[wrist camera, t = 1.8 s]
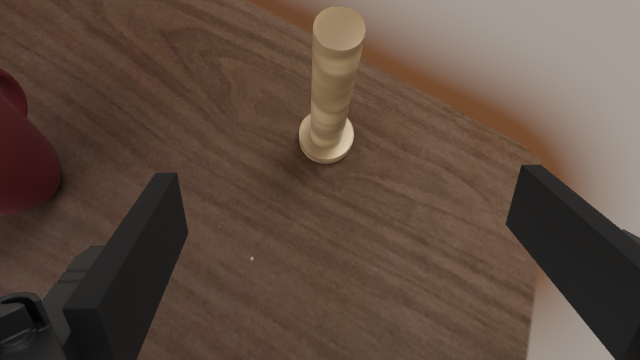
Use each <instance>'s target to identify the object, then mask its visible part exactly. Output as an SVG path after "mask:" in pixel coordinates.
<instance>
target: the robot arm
mask: <svg viewBox="0 0 640 360" xmlns="http://www.w3.org/2000/svg"><path fill="white" fill-rule="evenodd" d="M506 225H507V227H508V228H509V229H510V230H511V232H512V233H513V234H514V235H515V236H516V238H517V239H518V240H519V241H520V243H521V244H522V245H523V246H524V248H525V249H526V250H527V251H528V253H529V254H530V255H531V256H532V257H533V259H534V260H535V261H536V262H537V264H538V265H539V266H540V267H541V269H542V270H543V271H544V272H545V273H546V275H547V276H548V277H549V278H550V280H551V281H552V282H553V283H554V284H555V286H556V287H557V288H558V289H559V291H560V292H561V293H562V294H563V295H564V297H565V298H566V299H567V301H568V302H569V303H570V304H571V305H572V307H573V308H574V309H575V310H576V311H577V313H578V314H579V315H580V317H581V318H582V319H583V320H584V321H585V323H586V324H587V325H588V326H589V328H590V329H591V330H592V331H593V333H594V334H595V335H596V336H597V338H599V340H600V341H601V342H602V344H603V345H604V346H605V347H606V349H607V350H608V351H609V352H610V354H611V355H612V356H613V357H614V358H615V360H640V238H639V237H637V236H635V235H633V234H631V233H630V232H628V231H626V230H621V229H620V228H618V227H617V226H616V225H615V224H613V223H612V222H611V221H610V220H609V219H607V218H606V217H605V216H604V215H602V214H601V213H599V211H597V210H596V209H595V208H594V207H592V206H591V205H590V204H589V203H587V202H586V201H585V200H584V199H583V198H581V197H580V196H579V195H578V194H576V193H575V192H574V191H572V190H571V189H570V188H569V187H568V186H566V185H565V184H564V183H563V182H562V181H560V180H559V179H558V178H557V177H555V176H554V175H553V174H552V173H550V172H549V171H548V170H547V169H545V168H544V167H543V166H542V165H521V169H520V173H519V176H518V180H517V184H516V187H515V191H514V195H513V199H512V202H511V206H510V210H509V213H508V217H507V221H506ZM187 235H188V229H187V224H186V219H185V213H184V208H183V203H182V198H181V192H180V187H179V182H178V177H177V173H155V175H154V176H153V178H152V179H151V181H150V182H149V183H148V185H147V186H146V188H145V189H144V191H143V192H142V194H141V195H140V196H139V198H138V199H137V201H136V202H135V204H134V205H133V207H132V208H131V209H130V211H129V212H128V214H127V215H126V217H125V218H124V220H123V221H122V222H121V224H120V225H119V227H118V228H117V230H116V231H115V233H114V234H113V235H112V237H111V238H110V240H109V241H108V243H107V244H106V246H91V247H89V248H88V249H86V250H85V251H84V252H82V253H81V254H80V255H78V256H77V257H75V259H74V260H73V261H72V263H71V264H70V265H69V267H68V268H67V269H66V272H64V273H63V274H62V276H61V277H60V278H59V280H58V283H56V284H55V285H54V286H53V287H52V289H51V290H50V291H49V293H48V294H47V295H46V297H45V298H44V299H43V300H42V302H41V299H40V298H39V297H38V296H37V295H36V294H33V293H28V292H21V293H13V294H10V295H7V296H3V297H0V360H136V359H137V356H138V354H139V352H140V349H141V347H142V344H143V342H144V339H145V337H146V335H147V332H148V330H149V327H150V325H151V322H152V320H153V318H154V315H155V313H156V310H157V308H158V306H159V303H160V301H161V298H162V296H163V293H164V291H165V289H166V286H167V284H168V281H169V279H170V276H171V274H172V272H173V269H174V267H175V264H176V262H177V259H178V257H179V255H180V252H181V250H182V247H183V245H184V243H185V240H186V238H187Z"/></svg>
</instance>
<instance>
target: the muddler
mask: <svg viewBox="0 0 640 360" xmlns="http://www.w3.org/2000/svg"><path fill="white" fill-rule="evenodd" d="M365 35H366V26H365V22H364V20H363V18H362V17H361V16H360V14H358V13H357V12H356V11H354V10H353V9H350V8H348V7H343V6H334V7H330V8H327V9H325V10H323V11H322V12H320V14H318V16H317V17H316V19H315V21H314V24H313V49H312V87H311V113H310V114H309V115H308V116H306V117H305V119H304V120H303V121H302V123H301V126H300V129H299V142H300V146H301V149H302V151H303V152H304V154H305V155H306V156H307V157H308V158H310V159H311V160H313V161H315V162H318V163H322V164H331V163H335V162H338V161H340V160H341V159H343V158H344V157H345V156H346V155H347V154H348V153H349V151H350V149H351V146H352V143H353V139H354V130H353V127H352V124H351V122H350V121H349V119H348V118H347V115H348V110H349V106H350V101H351V97H352V92H353V88H354V84H355V79H356V75H357V70H358V66H359V61H360V57H361V52H362V47H363V43H364V39H365Z"/></svg>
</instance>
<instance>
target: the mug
mask: <svg viewBox="0 0 640 360" xmlns="http://www.w3.org/2000/svg"><path fill="white" fill-rule="evenodd" d="M0 92H1V93H2V95H1V94H0V216H2V215H11V214H16V213H20V212H23V211H26V210H29V209H32V208H34V207H36V206H39V205H41V204H43V203H45V202H46V201H48V200H49V199H50V198H51V197H52V196H53V195H54V194H55V193H56V191H57V190H58V188H59V185H60V182H61V171H60V165H59V161H58V157H57V154H56V152H55V150H54V148H53V146H52V145H51V143H50V142H49V141H48V140H47V139H46V137H45V136H44V135H43V134H42V133H41V132H40V131H39V130H38V129H37V128H36V127H35V126H34V125H33V124H32V123H31V122H30V121H29V120H28V119H27V110H28V109H27V100H26V97H25V94H24V91H23V89H22V88H21V86H20V85H19V83H18V82H17V81H16V80H15V79H14V78H13V77H12V76H11V75H10V74H9V73H7V72H6V71H4V70H2V69H0Z"/></svg>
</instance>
